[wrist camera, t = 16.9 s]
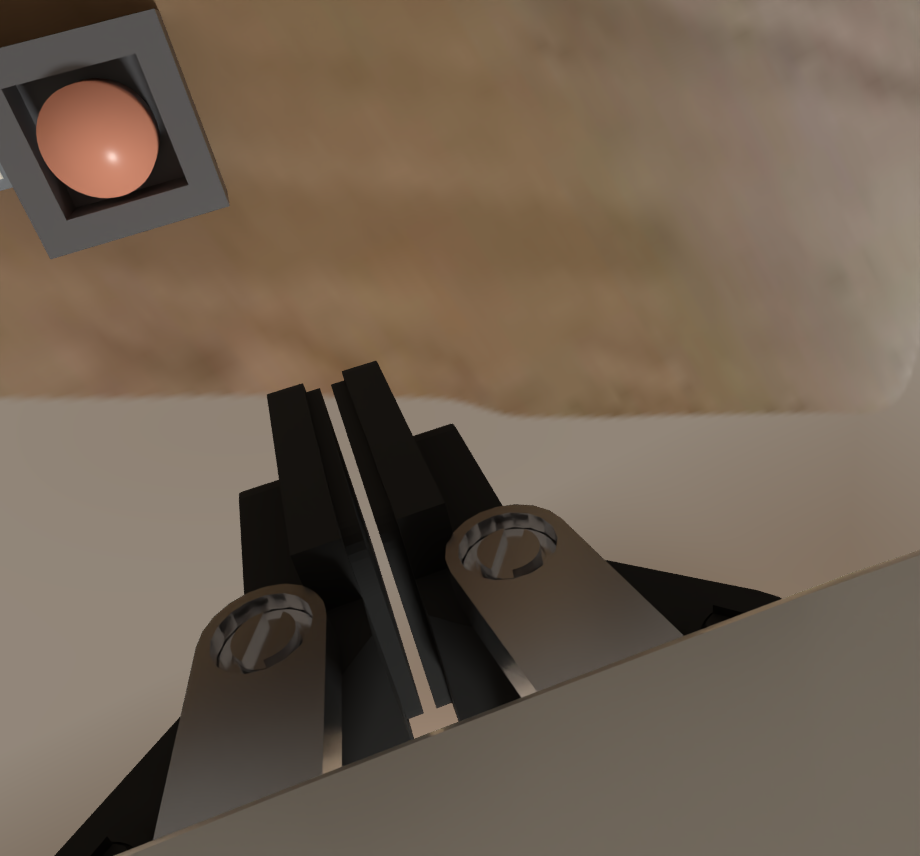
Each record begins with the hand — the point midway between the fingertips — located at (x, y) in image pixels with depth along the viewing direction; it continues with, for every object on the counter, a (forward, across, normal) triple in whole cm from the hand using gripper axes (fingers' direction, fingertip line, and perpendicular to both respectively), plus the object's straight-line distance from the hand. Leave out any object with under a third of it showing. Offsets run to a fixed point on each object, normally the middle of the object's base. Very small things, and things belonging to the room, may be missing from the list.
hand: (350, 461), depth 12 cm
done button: (+25, +5, -3) cm, 26 cm away
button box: (+26, +5, -3) cm, 27 cm away
